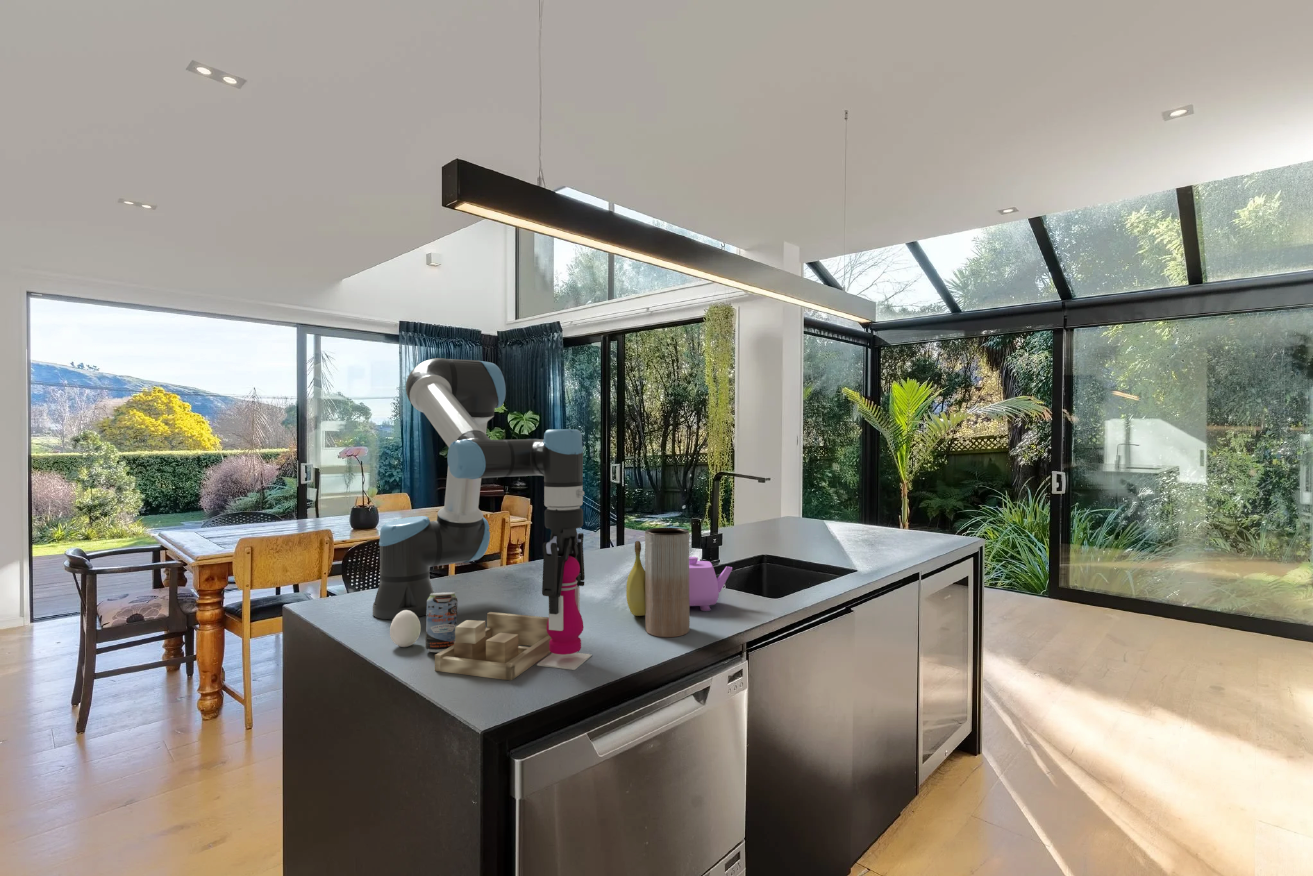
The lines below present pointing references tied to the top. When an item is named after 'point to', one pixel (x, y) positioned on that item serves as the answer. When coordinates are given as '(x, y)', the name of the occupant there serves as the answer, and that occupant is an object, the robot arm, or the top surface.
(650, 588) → the planter
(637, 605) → the banana
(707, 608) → the teapot
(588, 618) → the top surface
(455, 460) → the robot arm
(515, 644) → the block
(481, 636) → the block
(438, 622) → the beverage can
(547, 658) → the mat
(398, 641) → the egg
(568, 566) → the pepper mill
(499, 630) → the tray
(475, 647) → the block
